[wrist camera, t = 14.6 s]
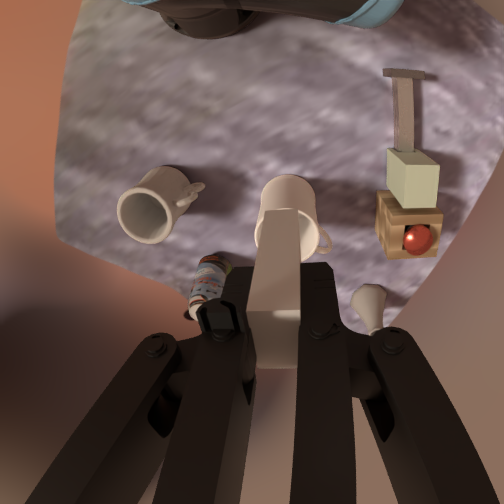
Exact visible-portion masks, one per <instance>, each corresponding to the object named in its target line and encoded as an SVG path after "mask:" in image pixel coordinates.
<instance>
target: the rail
mask: <svg viewBox="0 0 504 504" xmlns="http://www.w3.org/2000/svg"><path fill="white" fill-rule="evenodd" d="M383 76H385V77H392V90H393V111H394V150H395V151H397V152H414V100H413V80H412V78H414V79H424V80H425V73H424V71H417V70H406V69H393V68H385V69H383Z"/></svg>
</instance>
